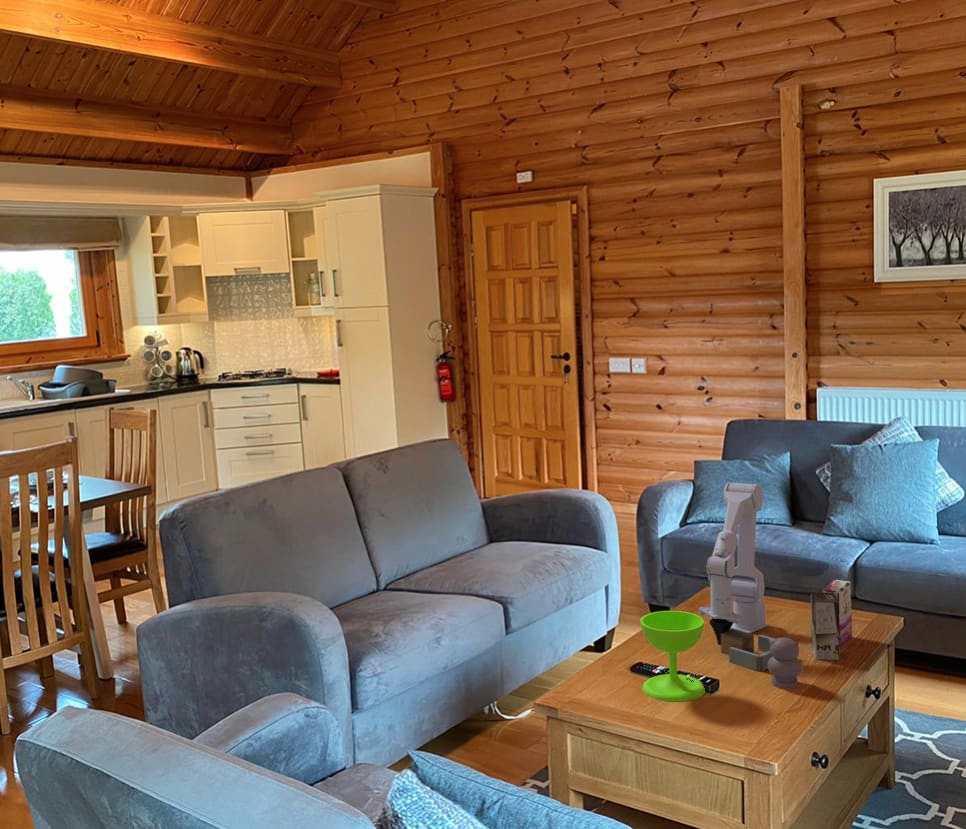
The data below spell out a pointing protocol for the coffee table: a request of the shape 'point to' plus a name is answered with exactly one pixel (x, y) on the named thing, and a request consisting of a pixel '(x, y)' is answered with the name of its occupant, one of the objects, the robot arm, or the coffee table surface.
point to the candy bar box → (842, 607)
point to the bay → (752, 655)
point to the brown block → (737, 641)
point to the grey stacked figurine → (784, 662)
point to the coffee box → (825, 625)
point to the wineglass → (672, 653)
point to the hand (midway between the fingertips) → (722, 644)
